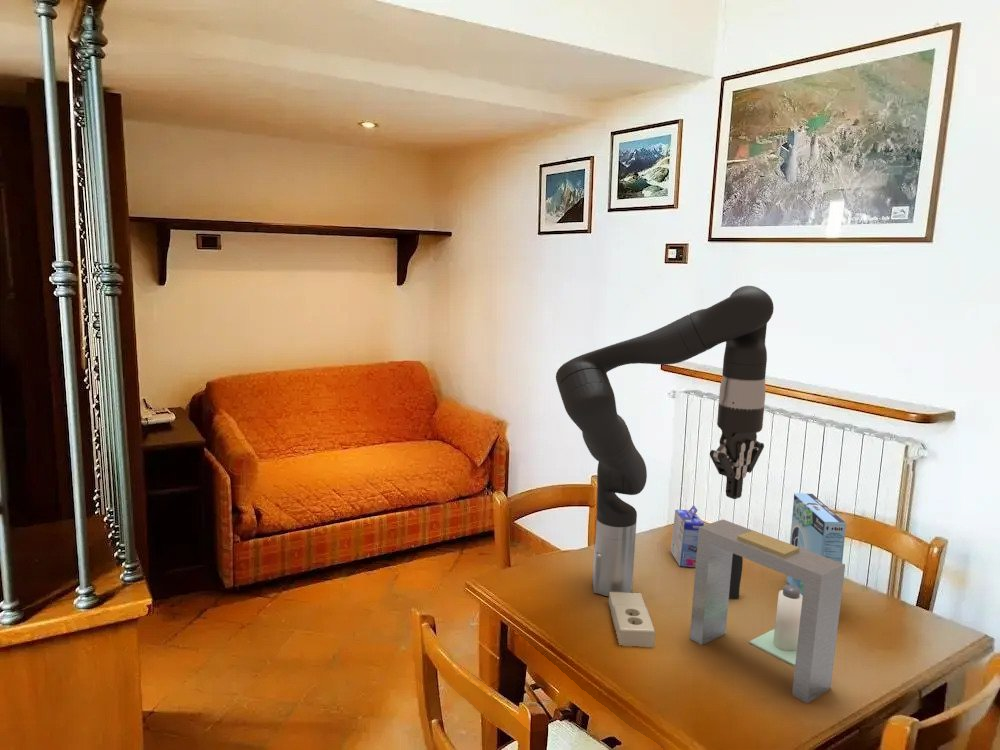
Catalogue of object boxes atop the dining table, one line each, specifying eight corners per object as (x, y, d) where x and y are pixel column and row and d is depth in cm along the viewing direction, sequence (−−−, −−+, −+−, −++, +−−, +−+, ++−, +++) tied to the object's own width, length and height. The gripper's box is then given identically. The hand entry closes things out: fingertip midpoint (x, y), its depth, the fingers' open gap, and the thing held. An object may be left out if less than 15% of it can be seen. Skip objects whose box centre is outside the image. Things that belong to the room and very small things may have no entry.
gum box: (836, 621, 155) (848, 523, 152) (812, 619, 156) (823, 521, 152) (805, 581, 174) (814, 493, 171) (784, 580, 175) (793, 492, 171)
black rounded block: (735, 591, 168) (739, 546, 166) (740, 599, 164) (744, 553, 162) (706, 590, 168) (709, 545, 166) (710, 597, 164) (713, 551, 162)
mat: (794, 666, 137) (794, 664, 137) (749, 643, 145) (749, 641, 145) (821, 650, 143) (821, 648, 143) (776, 629, 151) (776, 627, 151)
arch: (807, 703, 126) (822, 572, 122) (689, 638, 146) (699, 524, 142) (830, 688, 130) (845, 561, 126) (713, 627, 151) (723, 516, 147)
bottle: (777, 650, 142) (784, 592, 140) (769, 638, 146) (776, 582, 144) (800, 651, 142) (807, 594, 140) (792, 639, 146) (799, 583, 144)
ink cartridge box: (701, 568, 180) (705, 514, 178) (679, 567, 180) (683, 514, 178) (690, 552, 190) (694, 501, 188) (670, 551, 190) (674, 500, 188)
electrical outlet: (641, 589, 160) (655, 630, 142) (640, 606, 160) (654, 649, 143) (609, 588, 160) (619, 629, 142) (608, 604, 161) (618, 647, 143)
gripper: (736, 411, 115) (728, 511, 118) (782, 401, 123) (773, 496, 126) (699, 402, 121) (692, 498, 124) (745, 394, 129) (737, 484, 132)
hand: (733, 497), depth 125 cm, fingers closed
